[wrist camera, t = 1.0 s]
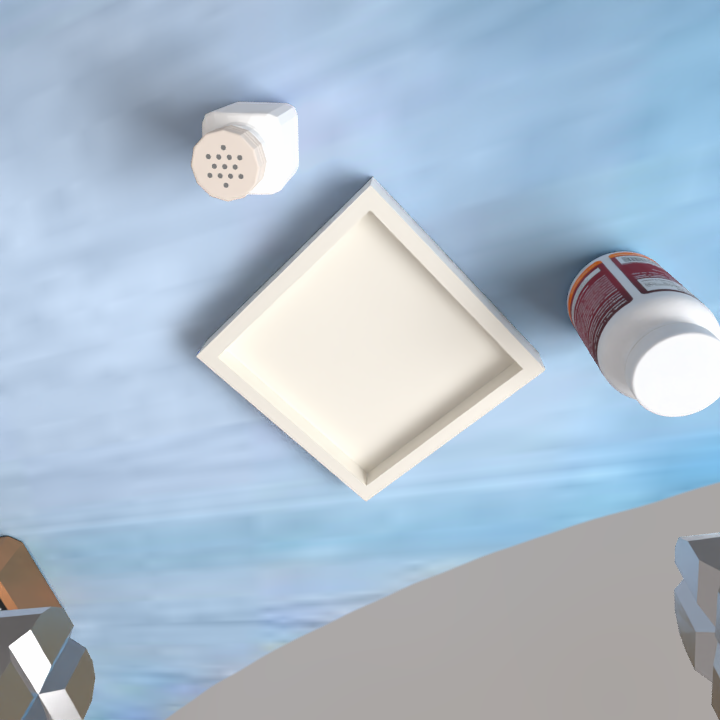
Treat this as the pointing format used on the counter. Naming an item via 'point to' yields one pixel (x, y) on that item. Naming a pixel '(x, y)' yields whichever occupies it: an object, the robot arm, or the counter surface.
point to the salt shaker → (247, 149)
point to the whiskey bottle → (21, 579)
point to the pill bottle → (647, 333)
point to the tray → (371, 346)
